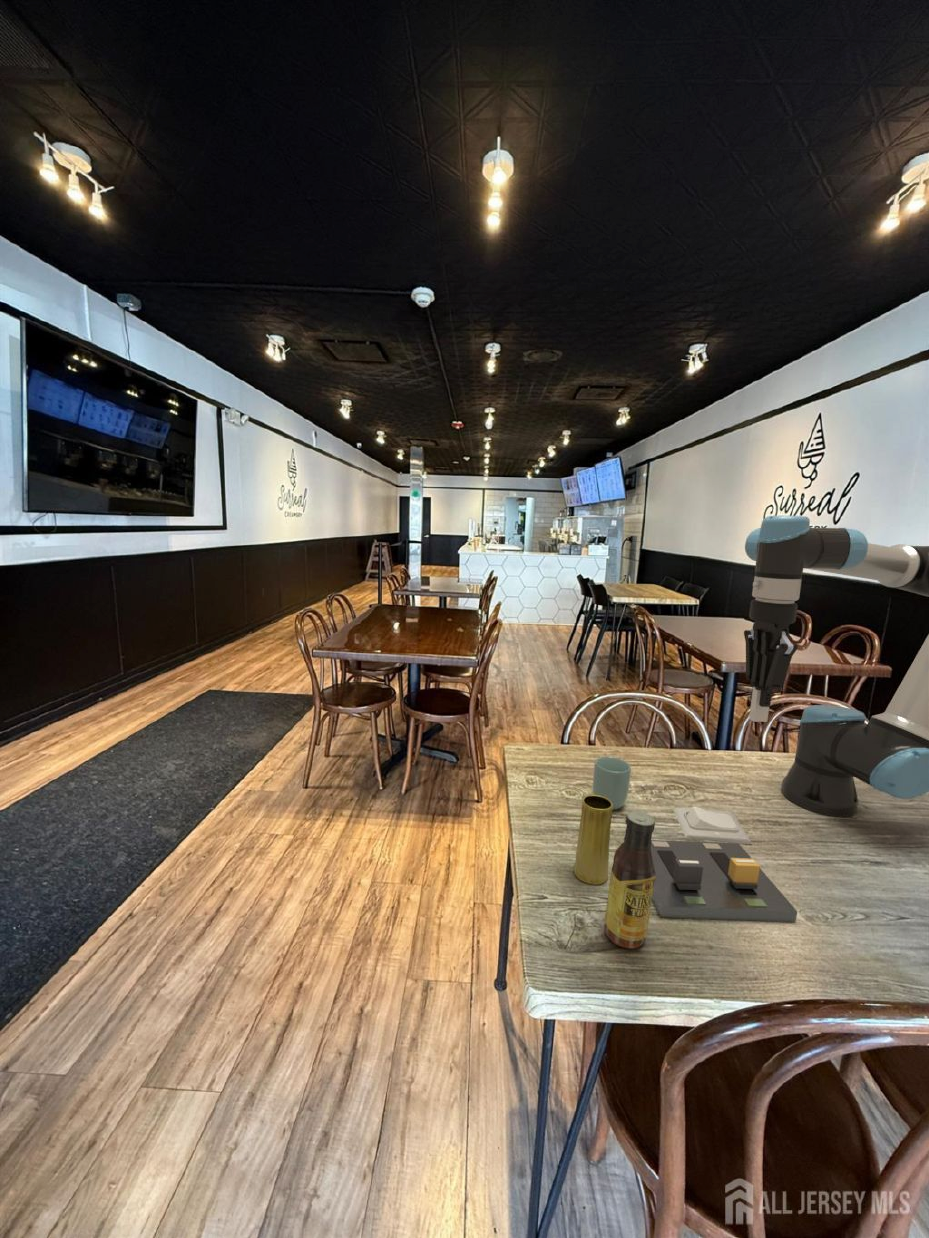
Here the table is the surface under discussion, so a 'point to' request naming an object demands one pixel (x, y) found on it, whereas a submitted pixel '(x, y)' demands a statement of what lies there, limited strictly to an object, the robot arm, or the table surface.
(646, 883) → the sauce bottle
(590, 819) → the vase
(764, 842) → the table surface
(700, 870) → the lever
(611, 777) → the cup
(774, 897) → the breaker panel
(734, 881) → the lever
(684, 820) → the light switch
